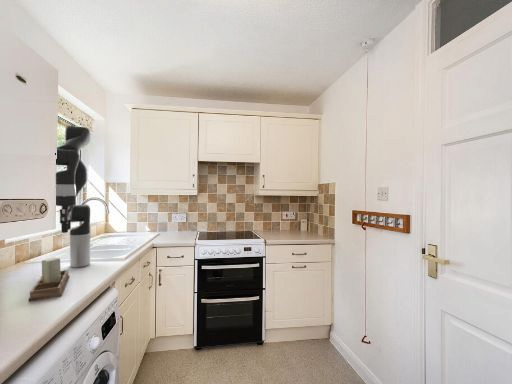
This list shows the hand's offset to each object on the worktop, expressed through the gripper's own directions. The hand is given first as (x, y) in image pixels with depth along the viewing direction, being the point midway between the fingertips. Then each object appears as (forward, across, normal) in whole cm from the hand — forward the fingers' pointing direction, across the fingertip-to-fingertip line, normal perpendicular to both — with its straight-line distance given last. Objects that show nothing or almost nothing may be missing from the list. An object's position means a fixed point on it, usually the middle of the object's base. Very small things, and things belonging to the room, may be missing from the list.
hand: (66, 231), depth 119 cm
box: (+22, +5, -5) cm, 23 cm away
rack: (+23, +5, -5) cm, 24 cm away
